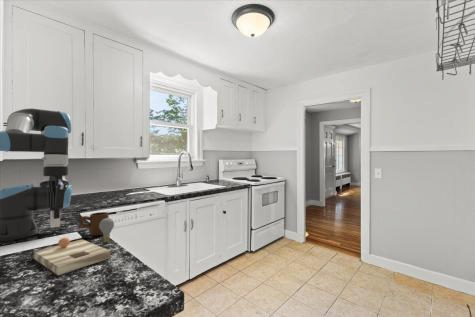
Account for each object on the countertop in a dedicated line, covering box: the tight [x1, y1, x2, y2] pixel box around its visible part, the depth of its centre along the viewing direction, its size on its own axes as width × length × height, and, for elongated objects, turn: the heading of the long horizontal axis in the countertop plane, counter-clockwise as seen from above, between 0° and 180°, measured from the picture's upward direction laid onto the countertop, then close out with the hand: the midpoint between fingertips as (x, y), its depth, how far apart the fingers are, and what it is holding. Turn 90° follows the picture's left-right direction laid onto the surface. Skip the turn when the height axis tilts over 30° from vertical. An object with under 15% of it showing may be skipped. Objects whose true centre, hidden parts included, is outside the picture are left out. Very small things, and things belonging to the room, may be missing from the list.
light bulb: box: [99, 218, 115, 243], centre depth 95 cm, size 5×6×10 cm
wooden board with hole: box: [33, 239, 111, 276], centre depth 79 cm, size 22×15×2 cm
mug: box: [78, 211, 109, 237], centre depth 106 cm, size 12×8×9 cm, turn 131°
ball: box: [57, 236, 71, 247], centre depth 83 cm, size 3×3×3 cm
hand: (55, 226), depth 88 cm, fingers closed
